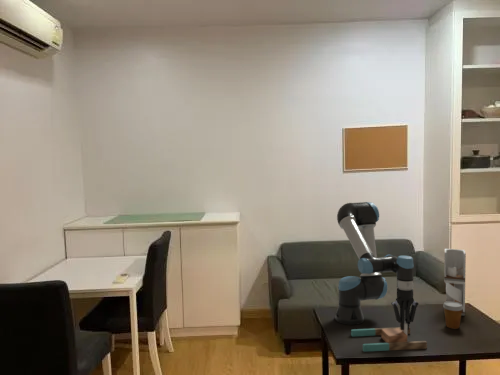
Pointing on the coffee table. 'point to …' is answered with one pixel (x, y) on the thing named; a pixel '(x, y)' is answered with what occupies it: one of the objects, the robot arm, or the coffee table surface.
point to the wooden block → (393, 335)
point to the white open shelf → (455, 276)
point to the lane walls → (403, 344)
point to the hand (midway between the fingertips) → (404, 336)
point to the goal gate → (373, 345)
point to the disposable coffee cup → (452, 314)
